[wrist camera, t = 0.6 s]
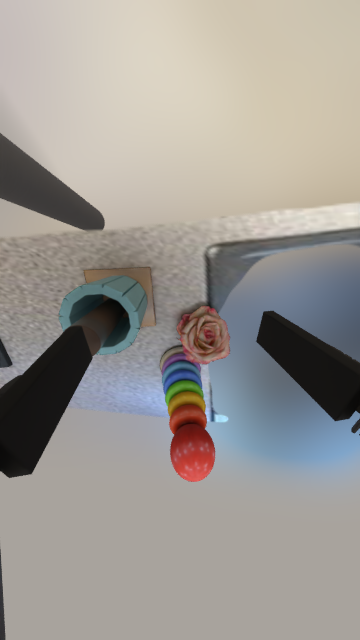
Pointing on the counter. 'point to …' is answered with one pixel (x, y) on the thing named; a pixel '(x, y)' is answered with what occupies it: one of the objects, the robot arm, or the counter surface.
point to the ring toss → (113, 307)
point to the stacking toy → (186, 416)
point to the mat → (4, 357)
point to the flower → (204, 336)
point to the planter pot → (92, 297)
